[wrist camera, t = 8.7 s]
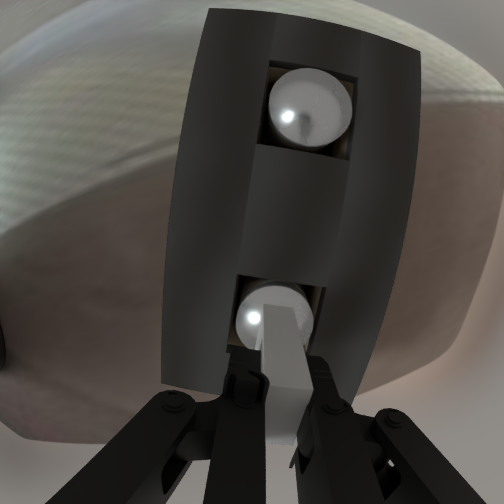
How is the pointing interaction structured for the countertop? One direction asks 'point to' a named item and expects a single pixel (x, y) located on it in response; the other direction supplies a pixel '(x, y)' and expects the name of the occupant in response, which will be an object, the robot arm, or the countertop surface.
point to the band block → (287, 194)
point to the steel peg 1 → (307, 110)
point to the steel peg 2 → (273, 294)
